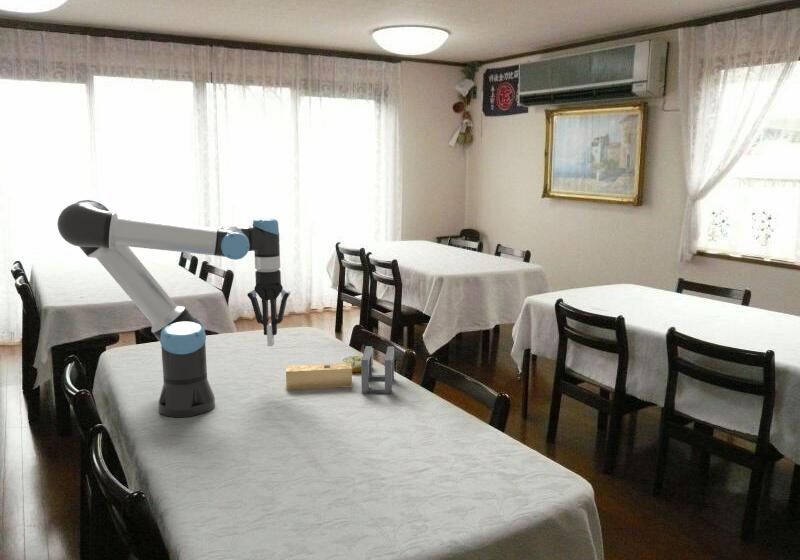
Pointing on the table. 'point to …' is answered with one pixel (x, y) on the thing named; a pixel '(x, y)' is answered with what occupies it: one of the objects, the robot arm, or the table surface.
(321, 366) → the tan wooden brick
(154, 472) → the table surface
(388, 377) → the grey cradle stand
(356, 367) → the decorated donut
